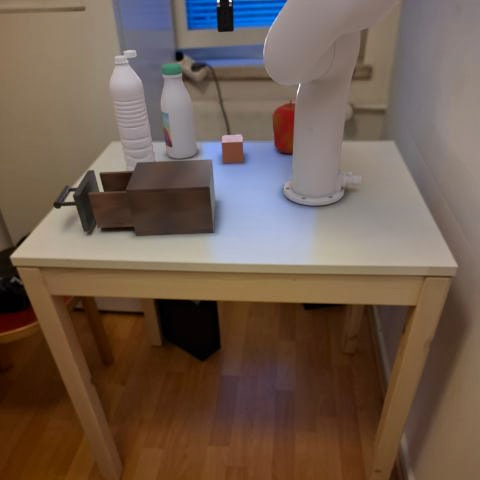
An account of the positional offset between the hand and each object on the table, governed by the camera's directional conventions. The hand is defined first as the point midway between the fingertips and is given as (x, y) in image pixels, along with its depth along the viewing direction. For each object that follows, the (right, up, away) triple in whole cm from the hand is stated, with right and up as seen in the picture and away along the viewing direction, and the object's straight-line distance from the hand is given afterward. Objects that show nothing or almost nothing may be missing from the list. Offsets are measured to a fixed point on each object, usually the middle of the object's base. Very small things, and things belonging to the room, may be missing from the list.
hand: (226, 27), depth 89 cm
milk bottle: (-12, -18, +22) cm, 31 cm away
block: (+1, -20, +18) cm, 27 cm away
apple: (+15, -17, +21) cm, 31 cm away
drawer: (-22, -40, -4) cm, 46 cm away
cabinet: (-9, -40, -3) cm, 41 cm away
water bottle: (-19, -28, +11) cm, 35 cm away
